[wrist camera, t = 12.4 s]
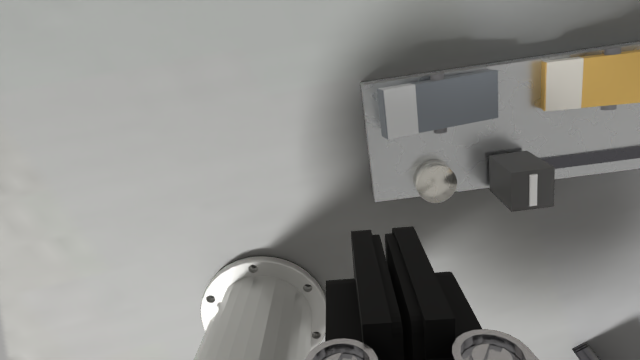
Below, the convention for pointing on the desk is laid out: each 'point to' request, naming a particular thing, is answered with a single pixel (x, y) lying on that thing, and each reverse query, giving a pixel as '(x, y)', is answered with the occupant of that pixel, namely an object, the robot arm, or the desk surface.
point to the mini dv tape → (585, 352)
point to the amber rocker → (591, 81)
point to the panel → (500, 135)
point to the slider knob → (521, 180)
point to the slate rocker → (438, 103)
